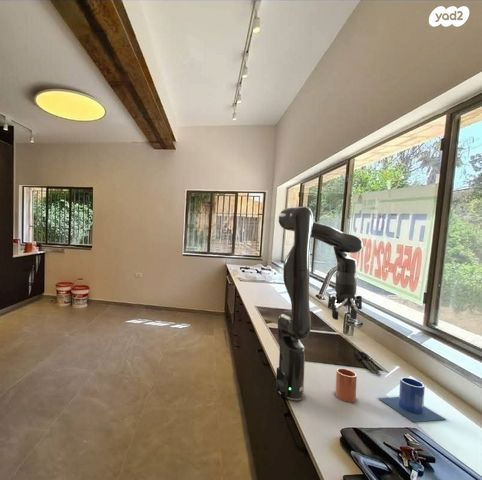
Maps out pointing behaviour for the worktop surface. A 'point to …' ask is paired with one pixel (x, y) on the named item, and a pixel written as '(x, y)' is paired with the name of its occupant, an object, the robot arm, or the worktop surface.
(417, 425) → the worktop surface
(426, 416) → the blue mat
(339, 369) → the terracotta cup
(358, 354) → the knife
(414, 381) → the blue cup
